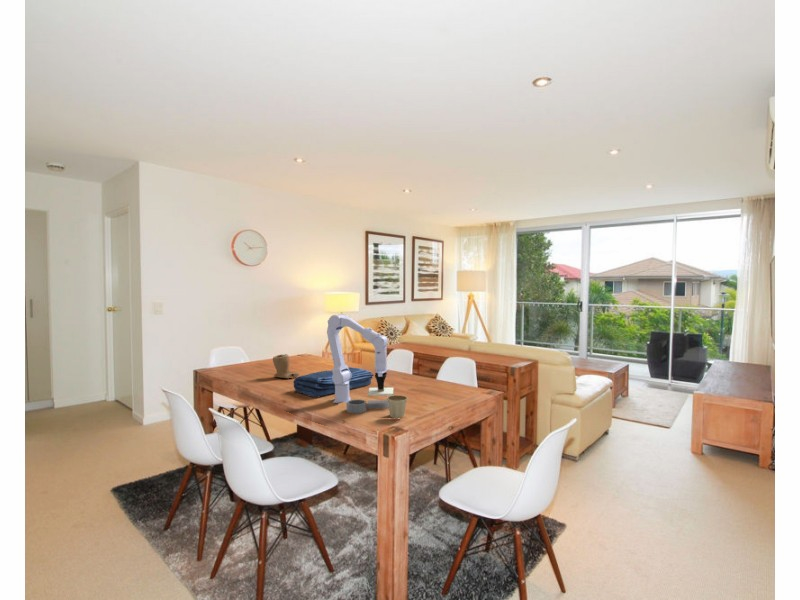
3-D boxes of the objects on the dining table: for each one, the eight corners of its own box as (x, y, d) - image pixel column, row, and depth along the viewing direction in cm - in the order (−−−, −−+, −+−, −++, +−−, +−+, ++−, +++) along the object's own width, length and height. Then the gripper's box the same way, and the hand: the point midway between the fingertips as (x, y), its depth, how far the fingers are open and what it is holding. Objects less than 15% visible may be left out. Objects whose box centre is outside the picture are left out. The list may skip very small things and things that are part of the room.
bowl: (347, 408, 201) (347, 399, 201) (366, 408, 201) (366, 399, 201) (345, 414, 192) (345, 404, 192) (365, 414, 192) (365, 404, 192)
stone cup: (269, 378, 269) (268, 354, 268) (283, 374, 279) (283, 352, 278) (285, 381, 260) (285, 356, 260) (299, 377, 271) (299, 354, 270)
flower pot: (407, 413, 194) (407, 394, 194) (408, 420, 184) (408, 400, 184) (386, 413, 194) (386, 395, 193) (386, 420, 184) (386, 400, 184)
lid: (369, 389, 213) (369, 379, 213) (393, 389, 213) (393, 379, 213) (367, 395, 201) (367, 385, 201) (393, 395, 201) (393, 384, 201)
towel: (374, 384, 251) (374, 367, 251) (317, 399, 219) (317, 379, 219) (348, 379, 267) (347, 362, 267) (290, 392, 235) (290, 373, 235)
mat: (368, 401, 213) (368, 400, 213) (394, 401, 213) (394, 400, 213) (366, 409, 200) (366, 408, 200) (394, 409, 201) (394, 408, 200)
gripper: (388, 363, 199) (388, 391, 199) (389, 358, 213) (389, 384, 214) (373, 363, 199) (373, 391, 199) (375, 358, 213) (375, 384, 214)
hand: (380, 388), depth 207 cm, fingers closed on lid, 3 cm apart
